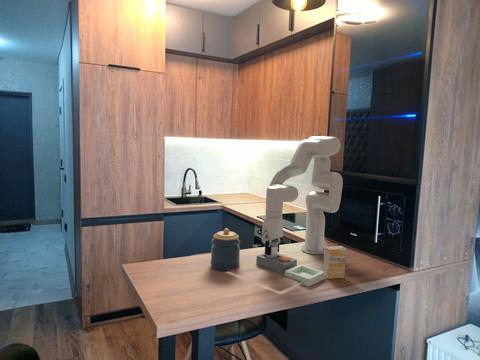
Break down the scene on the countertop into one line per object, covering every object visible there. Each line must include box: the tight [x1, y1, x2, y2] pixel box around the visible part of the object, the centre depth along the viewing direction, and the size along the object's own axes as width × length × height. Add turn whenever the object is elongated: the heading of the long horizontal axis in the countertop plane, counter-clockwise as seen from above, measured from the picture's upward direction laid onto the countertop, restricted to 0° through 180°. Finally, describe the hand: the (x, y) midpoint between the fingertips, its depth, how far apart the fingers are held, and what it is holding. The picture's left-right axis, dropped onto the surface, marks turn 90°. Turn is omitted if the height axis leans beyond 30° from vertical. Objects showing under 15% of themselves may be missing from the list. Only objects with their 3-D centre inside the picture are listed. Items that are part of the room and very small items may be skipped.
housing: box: [255, 252, 298, 275], centre depth 161 cm, size 10×15×5 cm, turn 47°
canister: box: [210, 227, 241, 272], centre depth 160 cm, size 13×13×18 cm
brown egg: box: [280, 255, 291, 262], centre depth 158 cm, size 4×4×5 cm
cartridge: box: [266, 240, 279, 259], centre depth 163 cm, size 5×5×10 cm
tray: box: [284, 263, 325, 287], centre depth 152 cm, size 12×12×3 cm
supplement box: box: [322, 245, 348, 280], centre depth 154 cm, size 8×5×13 cm, turn 105°
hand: (271, 252), depth 163 cm, fingers closed on cartridge, 5 cm apart
